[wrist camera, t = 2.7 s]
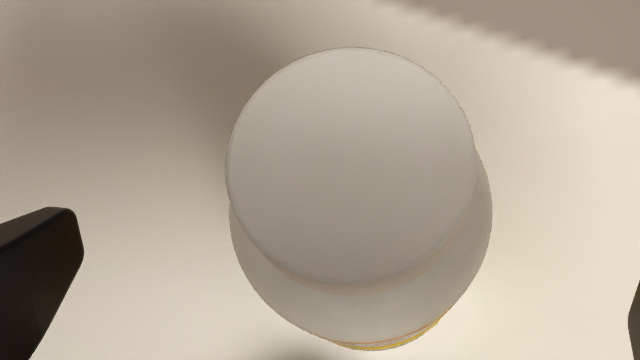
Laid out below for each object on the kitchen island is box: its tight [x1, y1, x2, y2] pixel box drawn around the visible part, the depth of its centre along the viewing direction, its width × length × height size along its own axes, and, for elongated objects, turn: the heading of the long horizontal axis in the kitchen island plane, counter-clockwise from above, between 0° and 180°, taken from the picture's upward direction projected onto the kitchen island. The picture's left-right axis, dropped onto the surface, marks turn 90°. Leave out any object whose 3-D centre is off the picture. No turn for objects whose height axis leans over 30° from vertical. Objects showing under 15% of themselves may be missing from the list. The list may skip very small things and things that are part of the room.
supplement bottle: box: [226, 47, 492, 351], centre depth 14 cm, size 5×5×10 cm
